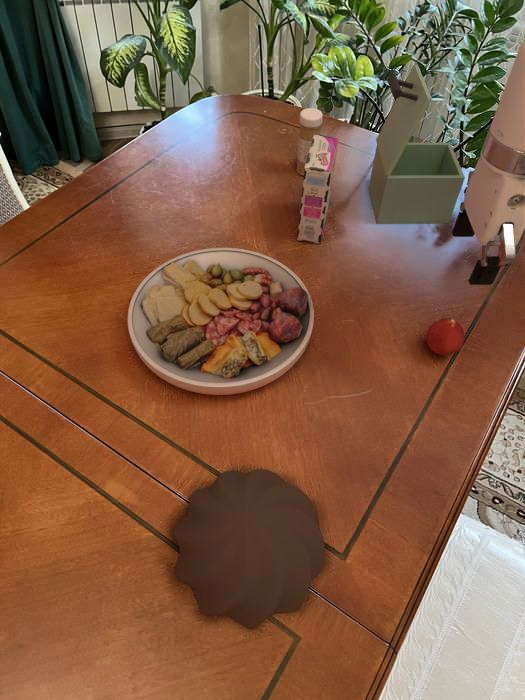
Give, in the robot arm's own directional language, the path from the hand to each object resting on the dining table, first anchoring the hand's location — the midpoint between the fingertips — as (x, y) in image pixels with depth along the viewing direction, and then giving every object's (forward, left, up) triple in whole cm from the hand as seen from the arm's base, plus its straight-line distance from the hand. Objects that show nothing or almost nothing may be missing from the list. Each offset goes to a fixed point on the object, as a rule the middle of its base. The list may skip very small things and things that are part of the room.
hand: (470, 258), depth 80 cm
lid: (+2, -37, -1) cm, 37 cm away
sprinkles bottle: (+18, -49, -20) cm, 55 cm away
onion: (0, +1, -20) cm, 20 cm away
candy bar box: (+18, -31, -20) cm, 40 cm away
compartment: (-2, -37, -19) cm, 42 cm away
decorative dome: (+32, +33, -20) cm, 50 cm away
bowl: (+35, -4, -20) cm, 41 cm away
